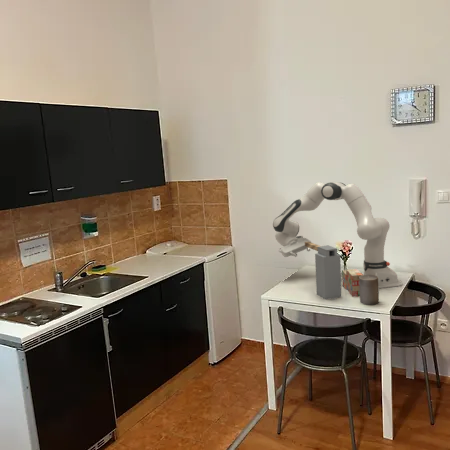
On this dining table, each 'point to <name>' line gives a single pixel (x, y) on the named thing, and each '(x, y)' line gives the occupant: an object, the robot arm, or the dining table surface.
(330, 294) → the slate-grey stand
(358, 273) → the stack of blocks
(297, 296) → the dining table surface
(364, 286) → the pillar candle
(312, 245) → the oak bar
